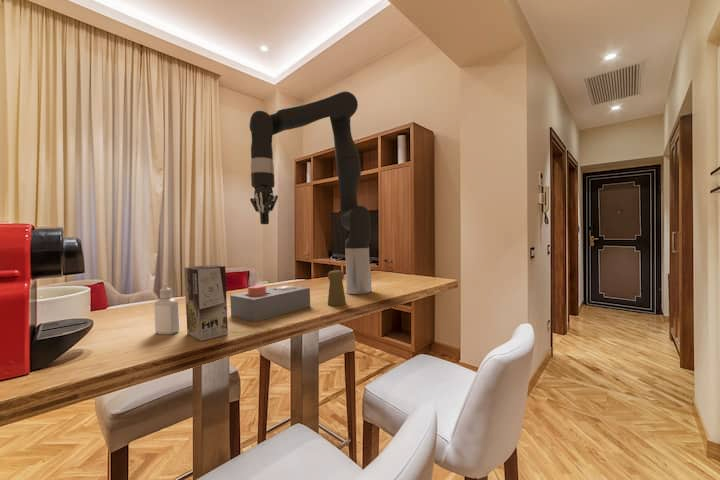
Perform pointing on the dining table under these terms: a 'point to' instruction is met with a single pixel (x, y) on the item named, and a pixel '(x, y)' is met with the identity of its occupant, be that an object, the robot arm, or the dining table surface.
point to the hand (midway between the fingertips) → (264, 224)
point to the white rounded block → (284, 288)
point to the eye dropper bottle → (166, 313)
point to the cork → (336, 288)
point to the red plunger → (256, 291)
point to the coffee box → (206, 301)
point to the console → (269, 303)
